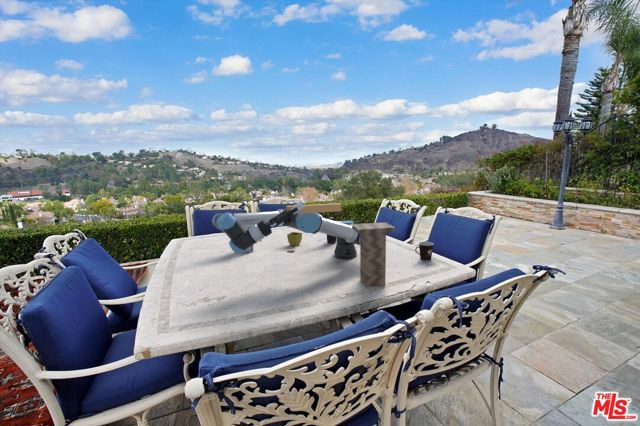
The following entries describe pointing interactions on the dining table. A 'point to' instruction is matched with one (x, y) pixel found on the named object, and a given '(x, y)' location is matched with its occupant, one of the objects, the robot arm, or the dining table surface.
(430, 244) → the coffee mug
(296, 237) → the flower pot
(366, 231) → the walnut stand
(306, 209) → the brown block
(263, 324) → the dining table surface
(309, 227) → the robot arm
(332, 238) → the travel mug
